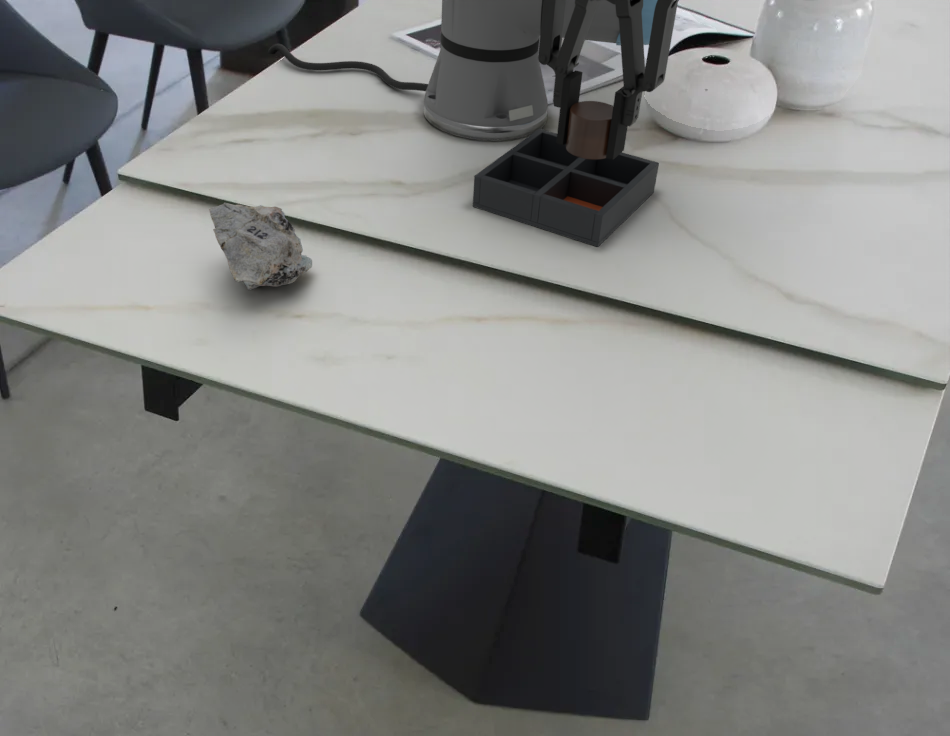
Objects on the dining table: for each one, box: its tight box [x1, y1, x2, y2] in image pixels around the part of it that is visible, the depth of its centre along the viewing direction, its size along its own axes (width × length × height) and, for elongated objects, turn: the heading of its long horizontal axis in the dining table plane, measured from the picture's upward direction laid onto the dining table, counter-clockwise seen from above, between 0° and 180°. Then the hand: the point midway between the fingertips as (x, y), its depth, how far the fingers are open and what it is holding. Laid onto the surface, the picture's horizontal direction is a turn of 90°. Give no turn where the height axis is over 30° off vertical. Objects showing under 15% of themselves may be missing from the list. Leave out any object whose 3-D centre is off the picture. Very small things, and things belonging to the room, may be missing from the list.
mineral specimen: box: [208, 202, 313, 291], centre depth 95 cm, size 10×8×10 cm
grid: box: [472, 128, 660, 247], centre depth 111 cm, size 15×15×4 cm
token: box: [566, 100, 613, 160], centre depth 102 cm, size 5×5×4 cm
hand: (590, 146), depth 103 cm, fingers closed on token, 5 cm apart
